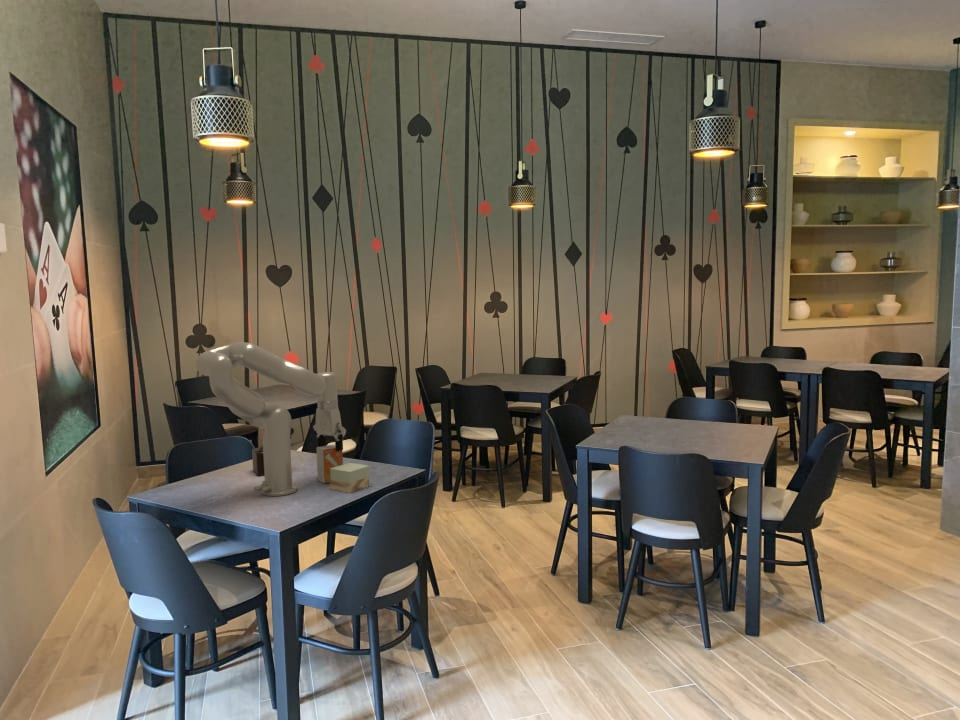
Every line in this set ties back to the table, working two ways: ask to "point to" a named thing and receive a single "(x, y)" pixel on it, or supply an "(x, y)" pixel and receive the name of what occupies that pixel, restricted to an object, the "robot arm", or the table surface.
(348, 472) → the tower top block
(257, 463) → the manual coffee grinder
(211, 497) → the table surface
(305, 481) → the table surface
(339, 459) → the small box
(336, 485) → the tower base block
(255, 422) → the robot arm
